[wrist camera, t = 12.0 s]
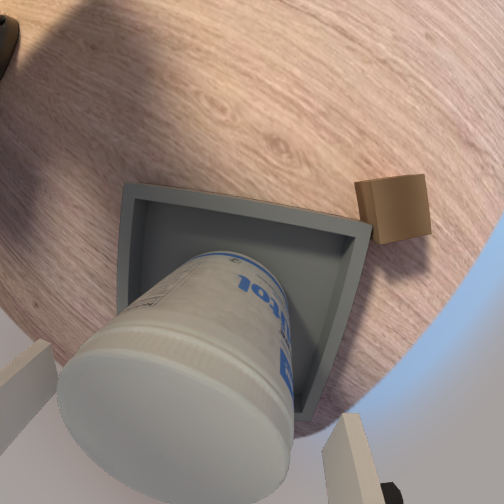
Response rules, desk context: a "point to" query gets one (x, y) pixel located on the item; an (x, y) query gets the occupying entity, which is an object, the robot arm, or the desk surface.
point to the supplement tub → (190, 386)
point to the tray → (260, 249)
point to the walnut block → (394, 207)
